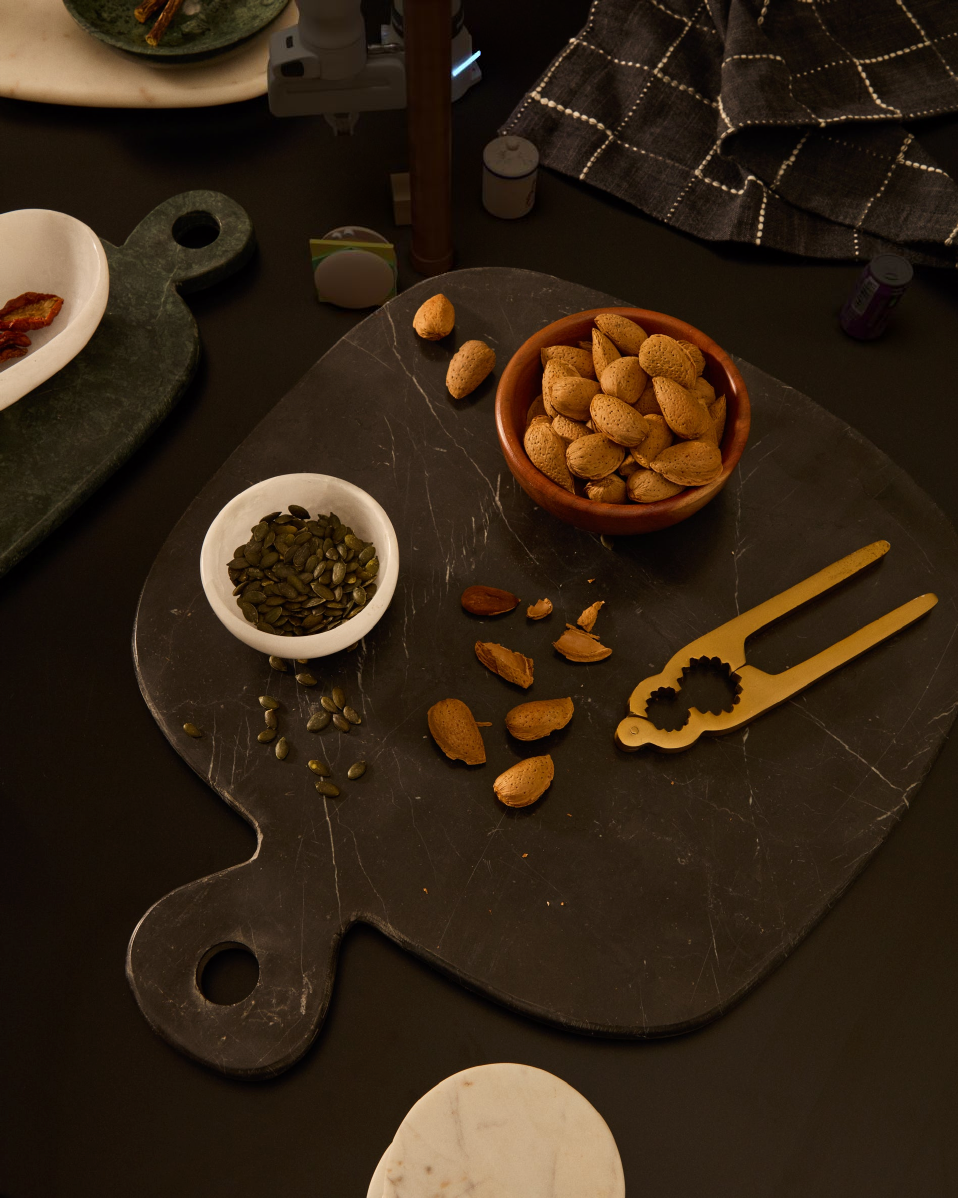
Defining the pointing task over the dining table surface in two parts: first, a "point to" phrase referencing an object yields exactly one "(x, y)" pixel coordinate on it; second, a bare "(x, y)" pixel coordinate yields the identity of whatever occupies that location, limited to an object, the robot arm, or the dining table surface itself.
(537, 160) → the teacup with lid
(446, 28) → the pepper mill
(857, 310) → the beverage can
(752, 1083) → the dining table surface
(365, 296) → the hamburger
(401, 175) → the maple block
